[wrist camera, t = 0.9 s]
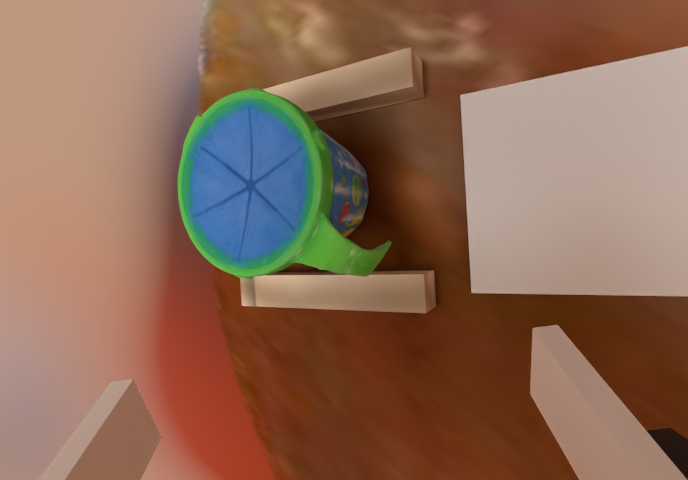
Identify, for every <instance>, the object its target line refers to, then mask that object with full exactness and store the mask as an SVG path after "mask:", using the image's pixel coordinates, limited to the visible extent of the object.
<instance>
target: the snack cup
mask: <svg viewBox="0 0 688 480" xmlns="http://www.w3.org/2000/svg"><path fill="white" fill-rule="evenodd" d="M368 197H369V189H368V183H367V174H366V172H365V169H364V167H363V166H362V165H361V164H360V163H359V162H358V160H357V159H356V158H355V157H354V156H353V155H352V154H351V153H350V152H349V151H348V150H347V149H345V148H344V147H343V146H342V145H340V144H339V143H338V142H336V141H335V140H334V139H333V138H331V137H330V136H329V135H327V134H326V133H325V132H323V131H322V130H321V129H320V128H318V127H317V125H316V124H315V122H314V121H313V120H312V119H311V118H310V117H309V116H308V115H307V113H306V112H305V111H304V110H303V109H301V108H300V107H299V106H297V105H296V104H294V103H292V102H291V101H289V100H287V99H285V98H283V97H280V96H278V95H275V94H272V93H269V92H266V91H265V90H263V89H253V88H250V89H248V90H245V91H240V92H235V93H233V94H230V95H228V96H226V97H223V98H222V99H220V100H219V101H217V102H216V103H215V104H213V105H212V106H211V107H210V108H209V109H208V110H207V111H206V112H205V113H204V114H203V115H197V116H196V118H195V120H194V122H193V123H192V126H191V128H190V130H189V132H188V135H187V137H186V139H185V142H184V146H183V153H182V157H181V162H180V166H179V173H178V198H179V205H180V210H181V215H182V218H183V222H184V225H185V227H186V229H187V232H188V234H189V236H190V238H191V240H192V242H193V243H194V245H195V246H196V248H197V249H198V250H199V252H200V253H201V254H202V255H203V256H204V257H205V258H206V259H207V260H208V261H209V262H210V263H212V264H213V265H214V266H216V267H218V268H219V269H221V270H223V271H225V272H228V273H231V274H234V276H236V277H239V278H244V279H250V278H253V277H255V276H263V275H268V274H272V273H275V272H278V271H281V270H283V269H285V268H288V267H290V266H291V265H293V264H294V263H302V264H305V265H308V266H311V267H315V268H318V269H319V270H327V271H330V272H334V273H339V274H347V275H353V276H363V277H367V276H369V275H370V274H371V273H372V272H373V270H374V269H375V268H376V266H377V265H378V264H379V262H380V261H381V260H382V258H383V257H384V255H385V254H386V252H387V251H388V249H389V247H390V246H391V244H392V243H391V241H387V242H386V243H385V244H383V245H380V246H378V247H376V248H375V249H372V250H365V249H363V248H361V247H359V246H358V245H357V244H355V243H354V242H352V241H350V240H348V239H347V238H346V237H347V236H349V235H350V234H351V233H352V232H353V231H354V230H355V229H356V228H357V227H358V226H359V225H360V224H361V222H362V220H363V219H364V214H365V210H366V207H367V204H368Z"/></svg>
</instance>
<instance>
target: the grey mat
mask: <svg viewBox="0 0 688 480" xmlns="http://www.w3.org/2000/svg"><path fill="white" fill-rule="evenodd" d="M460 98H461V116H462V134H463V151H464V169H465V187H466V205H467V222H468V240H469V258H470V276H471V293H497V294H563V295H628V296H688V46H686V47H681V48H677V49H672V50H667V51H663V52H658V53H653V54H649V55H644V56H639V57H635V58H630V59H626V60H621V61H616V62H612V63H607V64H602V65H598V66H593V67H588V68H584V69H579V70H574V71H570V72H565V73H561V74H556V75H551V76H547V77H542V78H537V79H533V80H528V81H523V82H519V83H514V84H509V85H505V86H500V87H496V88H491V89H486V90H482V91H477V92H472V93H468V94H463V95H460Z"/></svg>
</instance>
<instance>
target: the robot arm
mask: <svg viewBox="0 0 688 480" xmlns="http://www.w3.org/2000/svg"><path fill="white" fill-rule="evenodd" d="M530 395H531V397H532V398H533V400H534V402H535V404H536V405H537V407H538V409H539V411H540V412H541V414H542V416H543V418H544V419H545V421H546V423H547V424H548V426H549V428H550V430H551V431H552V433H553V435H554V437H555V438H556V440H557V442H558V444H559V445H560V447H561V449H562V451H563V452H564V454H565V456H566V458H567V459H568V461H569V463H570V465H571V466H572V468H573V470H574V472H575V473H576V475H577V477H578V479H579V480H688V440H687V439H686V438H684V437H683V436H681V435H680V434H678V433H677V432H676V431H674V430H673V429H671V428H667V429H658V430H649V431H646V430H645V429H644V427H643V426H642V425H641V424H640V423H639V421H638V420H637V419H636V418H635V417H634V416H633V414H632V413H631V412H630V411H629V410H628V408H627V407H626V406H625V405H624V404H623V402H622V401H621V400H620V399H619V398H618V396H617V395H616V394H615V393H614V392H613V390H612V389H611V388H610V387H609V386H608V384H607V383H606V382H605V381H604V380H603V378H602V377H601V376H600V375H599V374H598V373H597V371H596V370H595V369H594V368H593V367H592V365H591V364H590V363H589V362H588V361H587V359H586V358H585V357H584V356H583V355H582V353H581V352H580V351H579V350H578V349H577V347H576V346H575V345H574V344H573V343H572V341H571V340H570V339H569V338H568V337H567V335H566V334H565V333H564V332H563V331H562V330H561V328H560V327H559V326H558V325H551V326H544V327H536V328H533V329H532V356H531V382H530ZM160 439H161V436H160V434H159V432H158V430H157V428H156V426H155V424H154V422H153V419H152V417H151V415H150V413H149V411H148V409H147V407H146V405H145V403H144V401H143V399H142V397H141V394H140V392H139V390H138V388H137V386H136V384H135V382H134V380H133V379H130V380H123V381H115V382H111V383H110V385H109V386H108V387H107V389H106V390H105V391H104V393H103V394H102V395H101V397H100V398H99V399H98V401H97V402H96V404H95V405H94V406H93V408H92V409H91V410H90V412H89V413H88V414H87V416H86V417H85V418H84V420H83V421H82V422H81V423H80V425H79V426H78V428H77V429H76V430H75V432H74V433H73V434H72V436H71V437H70V438H69V440H68V441H67V442H66V444H65V445H64V447H63V448H62V449H61V450H60V452H59V453H58V454H57V456H56V457H55V459H54V460H53V461H52V462H51V464H50V465H49V467H48V468H47V469H46V471H45V472H44V473H43V475H42V476H41V477H40V479H39V480H140V479H141V477H142V475H143V473H144V471H145V469H146V467H147V465H148V463H149V461H150V459H151V457H152V455H153V453H154V451H155V449H156V447H157V445H158V443H159V441H160Z"/></svg>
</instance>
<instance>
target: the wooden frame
mask: <svg viewBox="0 0 688 480" xmlns="http://www.w3.org/2000/svg"><path fill="white" fill-rule="evenodd" d="M263 90H265V91H266V92H269V93H272V94H275V95H278V96H280V97H283V98H285V99H287V100H289V101H291V102H292V103H294V104H296V105H297V106H299V107H300V108H301V109H303V110H304V111H305V112H306V113H307V115H308V116H309V117H310V118H311V119H312V120H313V121H314V122H316V121H320V120H325V119H329V118H334V117H338V116H343V115H347V114H352V113H356V112H361V111H365V110H370V109H374V108H379V107H383V106H388V105H392V104H397V103H401V102H406V101H410V100H415V99H419V98H424V84H423V67H422V60H421V59H420V58H419V57H418V55H417V54H416V53H415V52H414V50H413V49H412V48H411V47H409V48H405V49H402V50H398V51H395V52H391V53H388V54H385V55H381V56H378V57H374V58H371V59H367V60H364V61H360V62H357V63H353V64H350V65H346V66H343V67H339V68H336V69H332V70H329V71H326V72H322V73H319V74H315V75H312V76H308V77H305V78H301V79H298V80H294V81H291V82H287V83H284V84H280V85H277V86H273V87H270V88H267V89H263ZM240 281H241V297H242V306H260V307H285V308H309V309H334V310H359V311H384V312H408V313H427V312H429V311H430V310H431V309H433V308H434V307H435V306H436V293H435V276H434V270H407V271H373V272H372V273H371V274H370V275H369V276H367V277H363V276H353V275H347V274H339V273H334V272H330V271H321V272H275V273H272V274H268V275H263V276H255V277H253V278H250V279H244V278H240Z"/></svg>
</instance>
